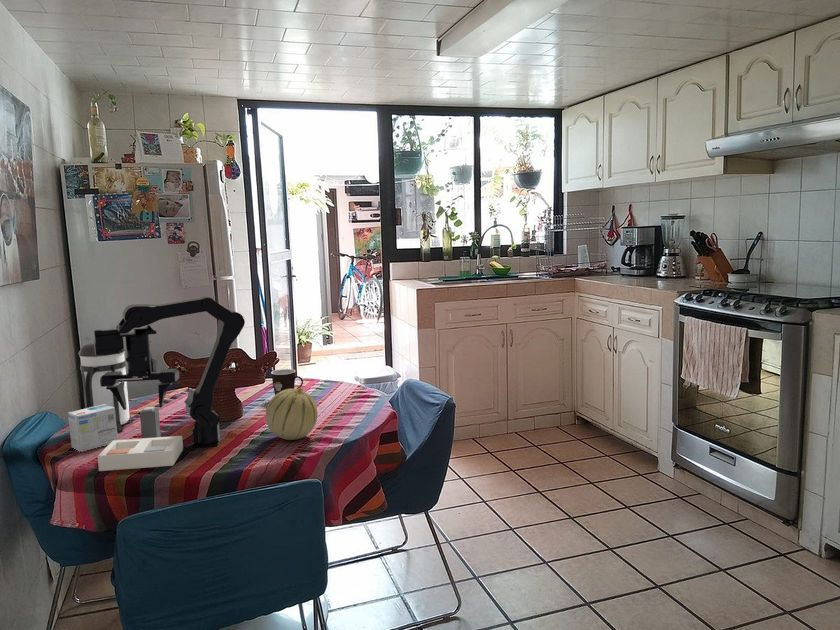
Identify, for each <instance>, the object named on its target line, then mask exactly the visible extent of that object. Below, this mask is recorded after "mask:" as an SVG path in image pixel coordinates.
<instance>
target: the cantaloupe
mask: <svg viewBox="0 0 840 630" xmlns="http://www.w3.org/2000/svg"><path fill="white" fill-rule="evenodd" d="M318 415H319V414H318V405H317V403H316V401H315V399H314V398H313V396H311V394H310V393H308V392H306V391H304V389H303V388H302V387H300V388H299V389H297V388H294V389H285V390H283V391H281V392H279V393H277V394H276V395H275V394H274V396H273V397H272V398H271V399H270V401H269V402H268V404H267V407H266V410H265V422H266V424H267V427H268V429H269V431H270V432H271V433H273V434H274V435H275V436H277V437H278V438H281V439H283V440H286V441H287V440H288V441H294V440H300V439H303V438H304V437H306V436H308V434H310V433H311V432H312V431H313V429H314V428H315V426H316V423H317V420H318Z"/></svg>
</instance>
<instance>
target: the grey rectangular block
mask: <svg viewBox="0 0 840 630" xmlns="http://www.w3.org/2000/svg"><path fill="white" fill-rule="evenodd" d="M139 419H140V429H141V430H140V431H141V438H156V437H162V435H161V423H160V412H159V407H155V406H146V407H144V408H142V409H141V410H140V411H139Z"/></svg>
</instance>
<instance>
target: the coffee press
mask: <svg viewBox="0 0 840 630" xmlns="http://www.w3.org/2000/svg"><path fill="white" fill-rule="evenodd" d="M125 352H126V346H124V350H122V351H120V353H119V354H113V355H104V356H95V349H94V341H90V342H87V343H85V344H83V345H81V348H80V350H79V351H78V356H79V358H80V364H79V366H80V367H79V368H80V371H81V379H82V388H83V389H82V391H83V398H84V400H83V401H84V409H85V408H90V407H94V406H98V405H103V404H107V405H109V406H112V407H115V416H116V426H117V434H118V433H121V432H123V426H122V425H125V424H126V423H129V424H132V423H133V422H134V419H133V417H131V415H130V408H129V407H130V406H129V394H128V381H126V382H124V393H125V399H126V410H123V408H122V406H121V405H120V403H119V401H118V400H117V398H116V397H115V395H114V394H113V393H112V392H111V390H109V389H108V390H107V389H106V387H107V386H106V387H101V385H100V378H101V377H102V376H103V375H104V374H106V373H107V372H118V371H121V372H122V375H126V374H127V370H126V366H127V362H126V357H125ZM129 419H130V421H129Z"/></svg>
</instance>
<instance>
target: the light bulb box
mask: <svg viewBox="0 0 840 630" xmlns="http://www.w3.org/2000/svg"><path fill="white" fill-rule="evenodd" d="M67 417H68V418H67V419H68V426H69V435H70V436H69V437H70V445H71V449H72V448H74V449H76V450H78V451H84V450H88V449H93V448H96V449H98V448H97V447H100V448H102V447H101V446H104V447H107V446H108V445H109V444H110V443H111V442H112V441H113V440H119V439H118V438H119V436H118V433H117V426H116V416H115V407H112V406H109V405H107V404H103V405H98V406H94V407H90V408H85V407H84V408H83V409H82V408H81V409H77V410H73V411H68V412H67ZM106 445H107V446H106ZM74 449H73V450H74ZM76 450H75V451H76ZM93 450H94V449H93ZM78 451H77V452H78Z"/></svg>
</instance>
